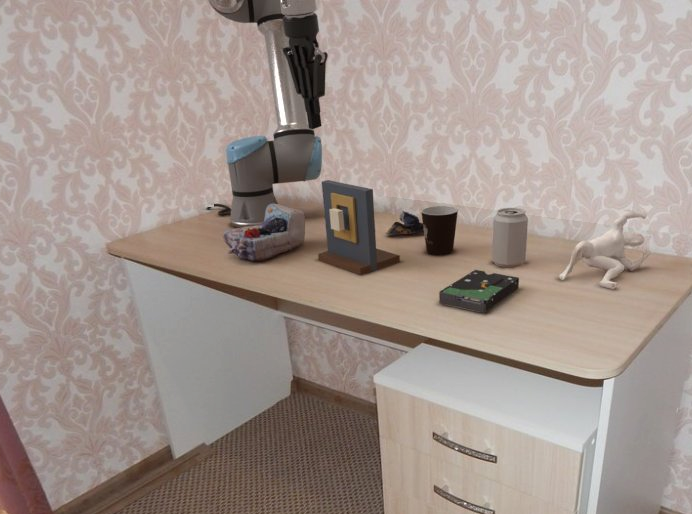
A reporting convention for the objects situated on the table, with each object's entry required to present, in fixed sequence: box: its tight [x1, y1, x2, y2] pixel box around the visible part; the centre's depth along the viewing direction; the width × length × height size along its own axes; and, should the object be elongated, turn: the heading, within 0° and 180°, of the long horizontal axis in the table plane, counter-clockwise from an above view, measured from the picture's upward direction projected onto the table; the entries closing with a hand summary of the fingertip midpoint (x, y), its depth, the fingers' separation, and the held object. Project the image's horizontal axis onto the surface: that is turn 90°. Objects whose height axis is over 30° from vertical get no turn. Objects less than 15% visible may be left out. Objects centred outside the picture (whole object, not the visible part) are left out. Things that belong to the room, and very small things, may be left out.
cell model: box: [222, 203, 306, 262], centre depth 155 cm, size 13×11×20 cm
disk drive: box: [438, 269, 520, 313], centre depth 124 cm, size 10×3×15 cm
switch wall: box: [317, 179, 401, 276], centre depth 144 cm, size 12×16×18 cm
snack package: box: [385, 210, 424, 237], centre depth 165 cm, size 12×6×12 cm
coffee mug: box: [420, 205, 459, 257], centre depth 150 cm, size 12×9×10 cm
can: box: [491, 207, 529, 268], centre depth 139 cm, size 8×8×12 cm
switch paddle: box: [329, 208, 344, 231], centre depth 140 cm, size 1×3×4 cm, turn 42°
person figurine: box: [559, 210, 652, 290], centre depth 131 cm, size 13×13×18 cm
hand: (315, 126), depth 148 cm, fingers closed
